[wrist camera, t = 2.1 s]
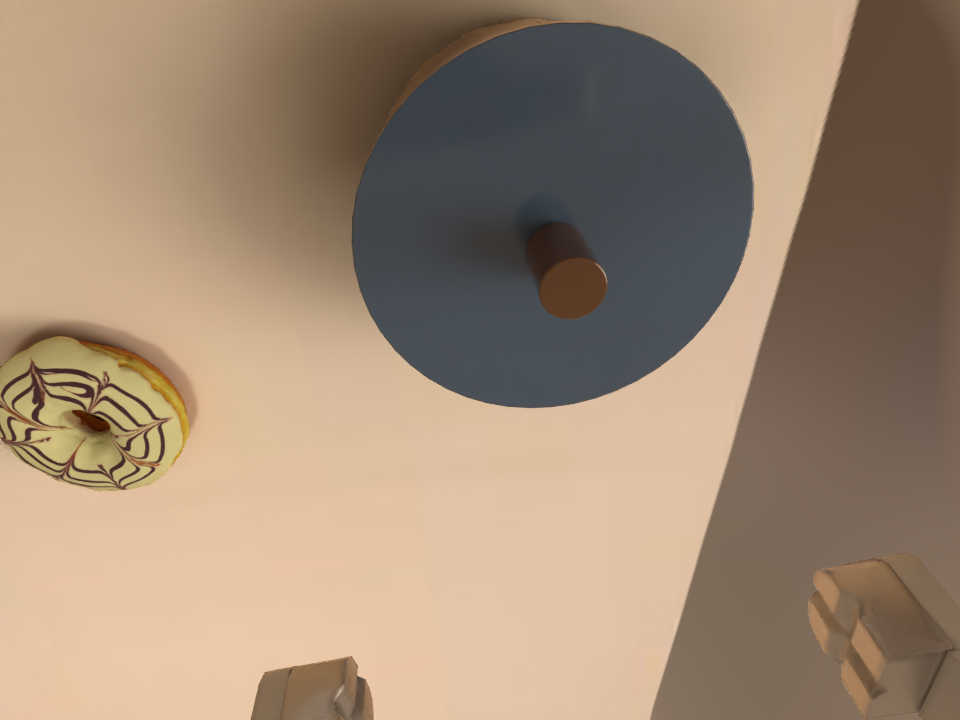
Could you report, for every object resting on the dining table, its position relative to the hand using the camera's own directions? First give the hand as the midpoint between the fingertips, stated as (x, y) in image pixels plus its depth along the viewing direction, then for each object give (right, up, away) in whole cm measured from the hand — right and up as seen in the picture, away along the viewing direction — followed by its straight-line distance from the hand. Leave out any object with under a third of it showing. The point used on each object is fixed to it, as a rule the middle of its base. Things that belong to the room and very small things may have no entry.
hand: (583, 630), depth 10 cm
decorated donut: (-26, +3, +27) cm, 38 cm away
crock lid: (+1, +10, +15) cm, 18 cm away
